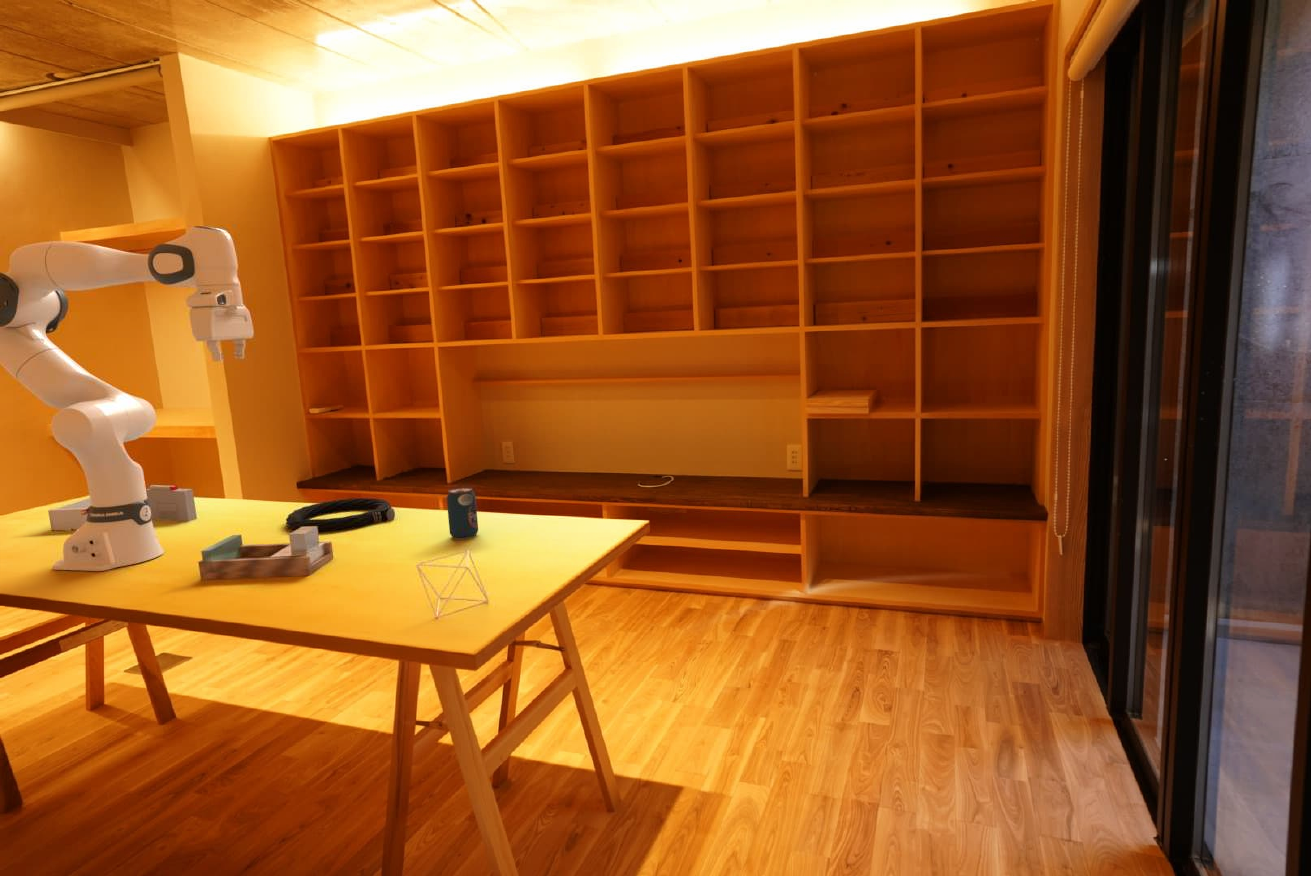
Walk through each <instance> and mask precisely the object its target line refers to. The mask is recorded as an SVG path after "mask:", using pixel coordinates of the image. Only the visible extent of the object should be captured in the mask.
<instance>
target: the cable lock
mask: <svg viewBox="0 0 1311 876" xmlns="http://www.w3.org/2000/svg"><path fill="white" fill-rule="evenodd" d="M352 510H353V511H354V510H355V511H356V510H357V511H361V510H362V511H363V510H366V511H365V512H363V513H359V514H358V513H357V514H354V515H353V514H352V515H347V516H343V517H341V516H340V517H331V518H320V519H319V518H317V519H315V518H314V519H311V518H313V517H316V516H319V515H326V514H332V513H335V512H344V511H345V512H346V511H352ZM367 510H369V511H367ZM395 517H396V511H395V509H394V508H393V507H392V505H391V504H390V503H389V502H388V501H386V500H385V499H379V498H372V497H371V498H370V497H364V498H362V497H360V498H357V497H351V498H344V499H342V498H341V499H337V500H331V501H323V502H319V503H315V504H310V505H307V506H302V507H301V508H299V509H294V510H293V511H292V512H291V513H289V514H288V515H287V517H286V519H285V521H286V522H285V525H287V528H288V529H291V530H292V531H293V532H294V531H296V530H297V529H299V528H301V527H309V526H317V528H318V533H327V532H338V531H339V532H340V531H345V530H350V529H356V528H361V527H366V526H368V525H371V524H374V525H375V524H378V523H381V522H383V523H384V522H388V521H389V522H392V521H394V520H395Z"/></svg>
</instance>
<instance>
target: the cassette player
mask: <svg viewBox="0 0 1311 876" xmlns="http://www.w3.org/2000/svg"><path fill="white" fill-rule="evenodd" d="M146 493H147V497H148V498H149V499H150V504H151V510H152V520H154V521H155V520H157V521H175V522H177V521H178V522H191V521H194V520H197V519H198V517H197V512H196V511H197V510H196V509H197V508H196V503H195V496H194V489H193V488H178V485H157V484H155V485H154V484H151V485H149V488H147V489H146Z"/></svg>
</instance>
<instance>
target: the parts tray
mask: <svg viewBox="0 0 1311 876" xmlns="http://www.w3.org/2000/svg"><path fill="white" fill-rule="evenodd" d="M90 506H91V499H90V497H88V498H84V499H81V500H78V501H74V502H71V503H67V504H65V505H61V506H59V507H54V508H52V509H49V510H47V512H48V517H49V524H50V527H51V528H50V529H51V531H52V530H65V531H70V530H69V529H79V528H80V527H81V526H82V525H83V524H85V523H86V522H87V521H86V519H87V515H88V514H85V515H81V514H82V513H84V512H85V511H82V510H85V509H88V507H90ZM81 511H82V512H81Z"/></svg>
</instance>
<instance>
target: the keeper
mask: <svg viewBox="0 0 1311 876" xmlns="http://www.w3.org/2000/svg"><path fill="white" fill-rule="evenodd" d="M288 539H289V543H290V545H289V546H287V547H286V548H284V549H282V550H281V551H279V552H277V553H276V554H274V555H272V556H271V557H270V558H274V557H299V556H310V564H312V563H313V562H315V561H316V560H317V559H319V558H320V557H322V556H323V555H325V554H326V550H325V543H319V542H320V538H319V532H318V528H317V526H309V527H301V528H299V529H297V530H296V531H294V530H293V531H292V532H291V533H288Z"/></svg>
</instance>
